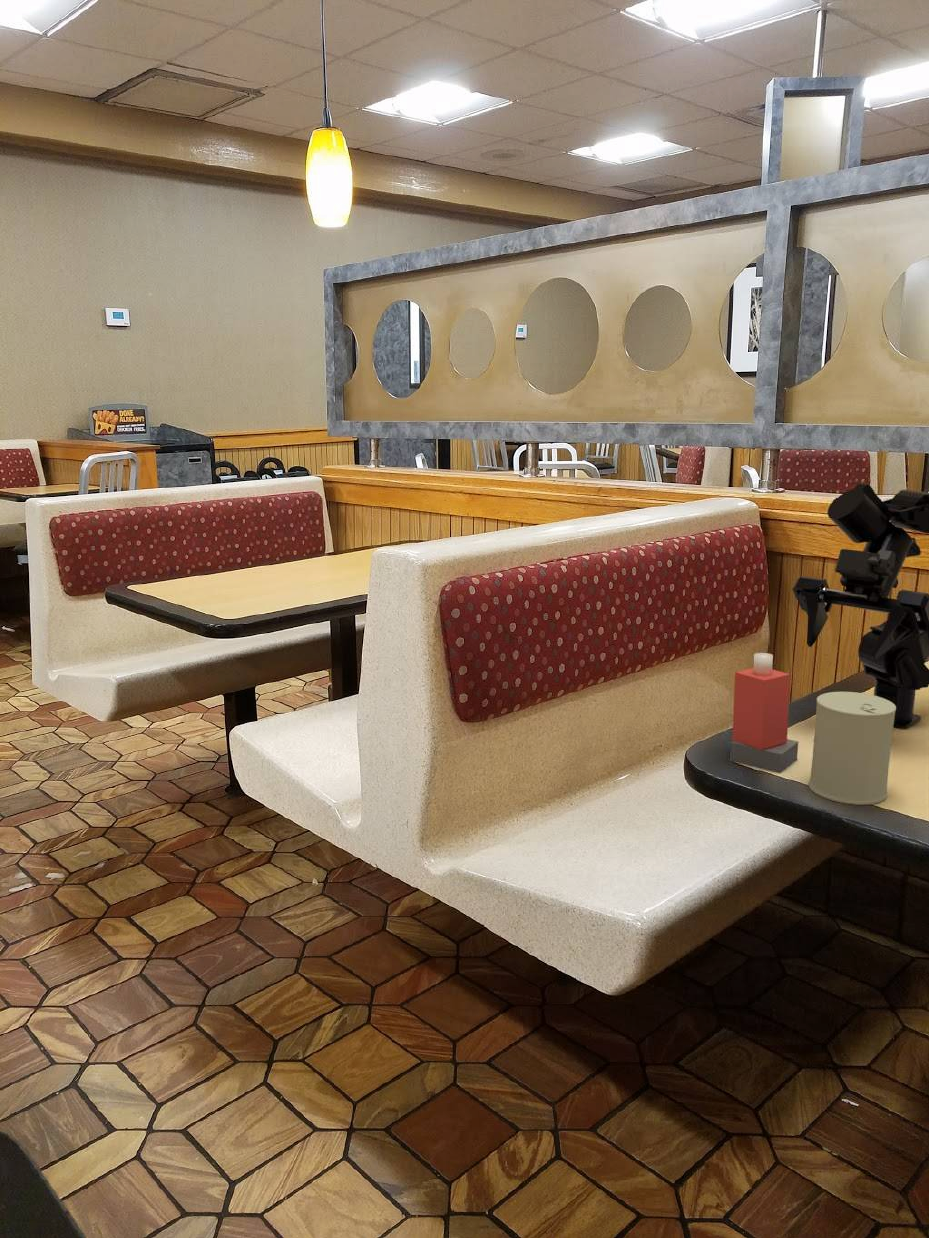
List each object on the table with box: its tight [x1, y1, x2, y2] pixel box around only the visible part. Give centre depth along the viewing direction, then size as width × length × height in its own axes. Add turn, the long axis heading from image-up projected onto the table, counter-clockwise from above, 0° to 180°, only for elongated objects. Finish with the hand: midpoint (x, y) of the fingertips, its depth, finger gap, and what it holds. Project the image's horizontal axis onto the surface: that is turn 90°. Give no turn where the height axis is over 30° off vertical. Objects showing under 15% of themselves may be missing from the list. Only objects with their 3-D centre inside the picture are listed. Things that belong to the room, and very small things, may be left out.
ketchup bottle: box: [731, 652, 791, 750], centre depth 130 cm, size 5×5×12 cm
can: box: [808, 691, 896, 806], centre depth 120 cm, size 9×9×12 cm
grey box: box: [729, 738, 799, 774], centre depth 131 cm, size 6×7×3 cm
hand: (840, 651), depth 134 cm, fingers open, 9 cm apart
